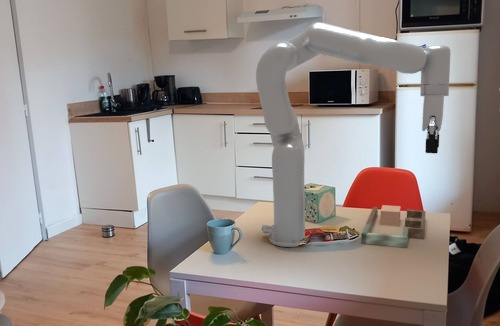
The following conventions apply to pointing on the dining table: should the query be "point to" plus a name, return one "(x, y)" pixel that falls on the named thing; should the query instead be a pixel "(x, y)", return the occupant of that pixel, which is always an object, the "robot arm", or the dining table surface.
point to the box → (411, 230)
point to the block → (390, 215)
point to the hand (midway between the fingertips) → (432, 150)
